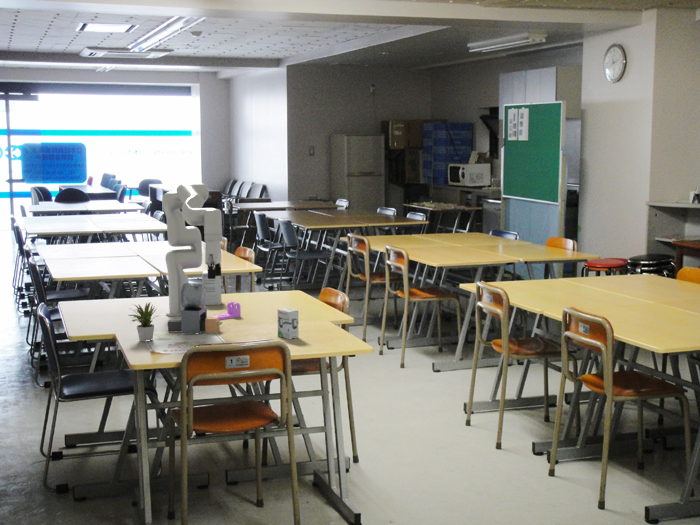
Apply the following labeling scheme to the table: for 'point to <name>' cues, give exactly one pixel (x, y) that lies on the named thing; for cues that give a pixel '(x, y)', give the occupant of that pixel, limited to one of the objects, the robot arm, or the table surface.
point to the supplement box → (212, 289)
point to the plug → (206, 325)
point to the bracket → (231, 311)
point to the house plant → (144, 322)
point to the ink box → (288, 323)
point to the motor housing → (193, 307)
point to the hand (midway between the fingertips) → (214, 277)
